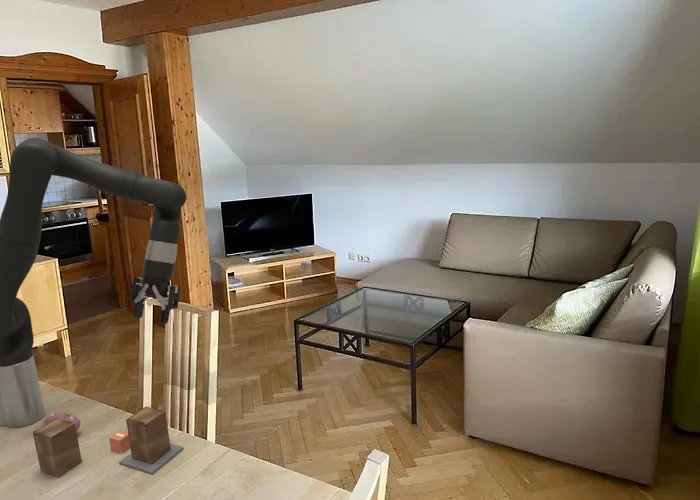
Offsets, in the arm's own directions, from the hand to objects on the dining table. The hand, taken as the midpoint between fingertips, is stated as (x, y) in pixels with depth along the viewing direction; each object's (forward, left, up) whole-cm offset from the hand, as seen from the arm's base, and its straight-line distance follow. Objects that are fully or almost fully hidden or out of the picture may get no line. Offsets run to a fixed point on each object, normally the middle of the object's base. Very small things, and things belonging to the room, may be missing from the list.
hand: (150, 320), depth 143 cm
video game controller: (-23, -10, -25) cm, 36 cm away
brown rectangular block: (+2, -22, -24) cm, 33 cm away
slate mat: (+2, -22, -25) cm, 34 cm away
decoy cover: (-18, -22, -25) cm, 38 cm away
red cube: (-6, -17, -25) cm, 31 cm away
